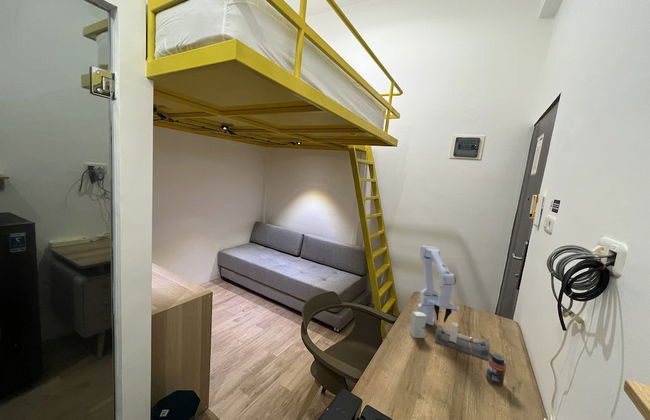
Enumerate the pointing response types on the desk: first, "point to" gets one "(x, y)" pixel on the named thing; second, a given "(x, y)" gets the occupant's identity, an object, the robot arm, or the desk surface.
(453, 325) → the collar
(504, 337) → the desk surface
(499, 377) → the supplement bottle
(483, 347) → the pipe rig
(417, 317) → the skincare box
